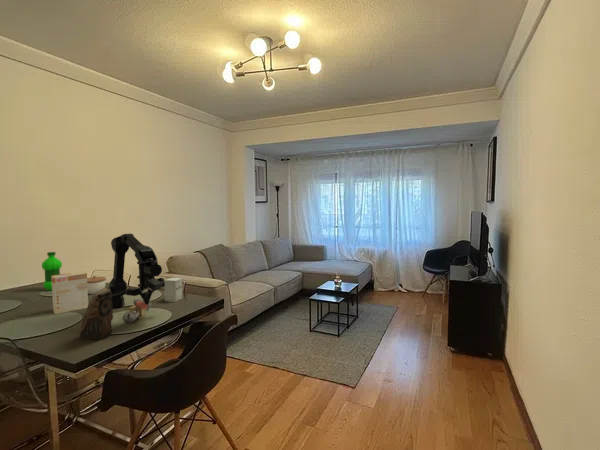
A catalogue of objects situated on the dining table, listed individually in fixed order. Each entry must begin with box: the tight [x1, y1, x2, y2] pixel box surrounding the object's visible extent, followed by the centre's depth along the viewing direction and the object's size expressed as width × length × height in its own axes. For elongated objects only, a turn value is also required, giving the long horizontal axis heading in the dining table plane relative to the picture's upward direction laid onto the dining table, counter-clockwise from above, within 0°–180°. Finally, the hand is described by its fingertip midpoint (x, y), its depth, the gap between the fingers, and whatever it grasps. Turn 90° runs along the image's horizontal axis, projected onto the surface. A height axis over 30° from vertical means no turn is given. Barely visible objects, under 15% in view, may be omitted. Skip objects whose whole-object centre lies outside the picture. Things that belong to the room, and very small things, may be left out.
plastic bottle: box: [41, 251, 63, 292], centre depth 214 cm, size 10×10×25 cm
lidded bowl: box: [87, 275, 107, 295], centre depth 207 cm, size 13×13×11 cm
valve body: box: [122, 299, 152, 325], centre depth 164 cm, size 6×21×6 cm, turn 6°
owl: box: [79, 285, 114, 341], centre depth 139 cm, size 13×13×20 cm
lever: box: [133, 298, 148, 309], centre depth 160 cm, size 12×4×2 cm, turn 45°
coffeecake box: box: [51, 271, 89, 315], centre depth 173 cm, size 15×7×20 cm, turn 135°
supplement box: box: [164, 277, 183, 303], centre depth 191 cm, size 7×7×13 cm
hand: (147, 304), depth 159 cm, fingers closed
